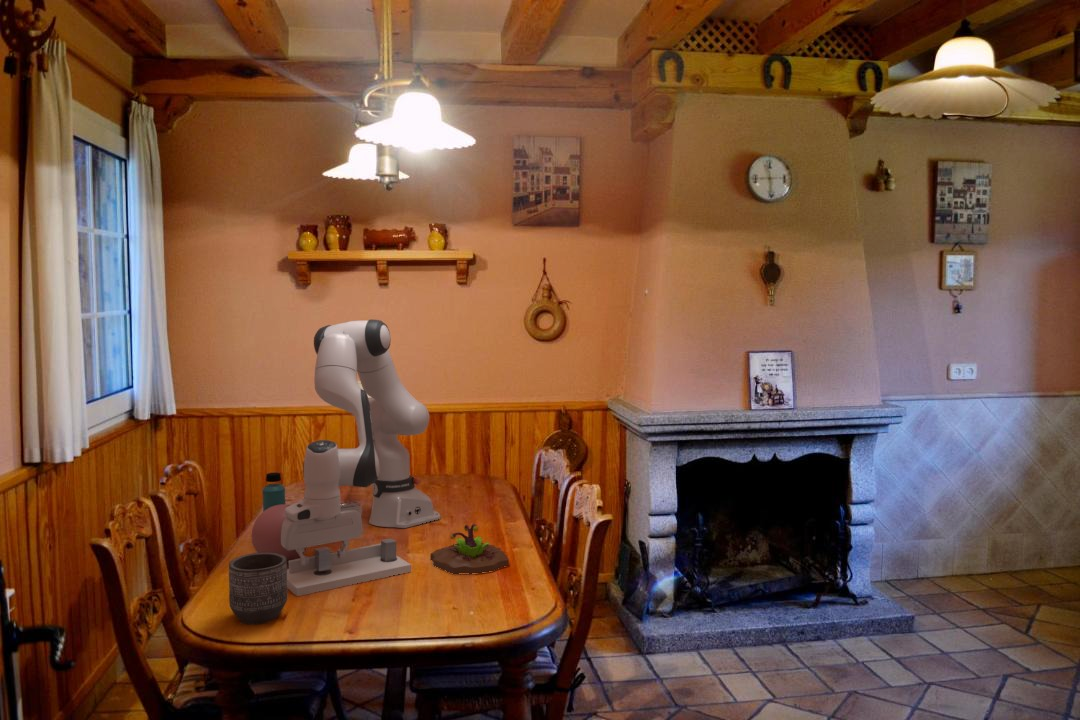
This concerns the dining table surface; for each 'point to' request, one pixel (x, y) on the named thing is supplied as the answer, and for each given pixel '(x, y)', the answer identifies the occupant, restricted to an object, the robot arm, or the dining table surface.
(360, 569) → the grey peg board
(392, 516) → the robot arm
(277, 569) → the planter
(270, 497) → the beverage bottle
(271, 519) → the balloon
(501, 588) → the dining table surface
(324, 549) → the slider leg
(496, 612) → the dining table surface
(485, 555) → the plant
